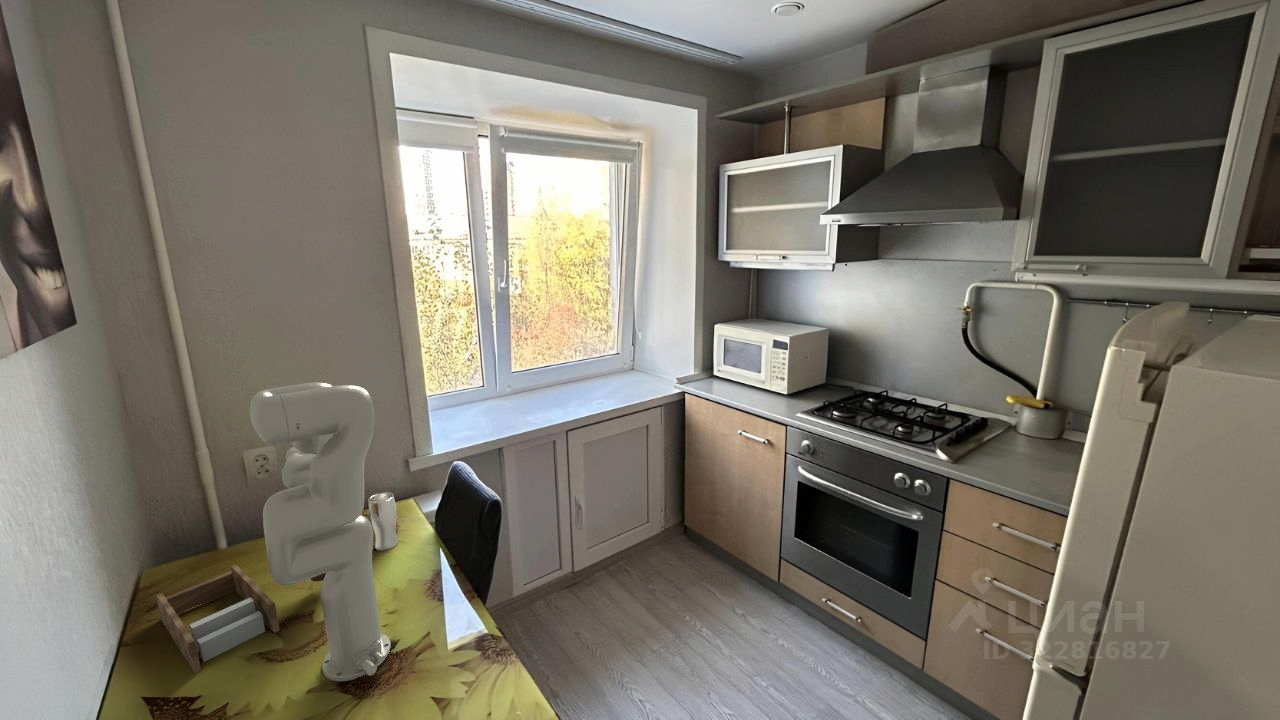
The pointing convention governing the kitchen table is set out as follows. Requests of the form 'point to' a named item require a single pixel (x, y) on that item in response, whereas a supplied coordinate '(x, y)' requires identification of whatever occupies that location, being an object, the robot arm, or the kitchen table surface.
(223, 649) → the offcut front
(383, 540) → the beer glass
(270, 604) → the rack
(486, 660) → the kitchen table surface
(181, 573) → the kitchen table surface
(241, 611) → the offcut near
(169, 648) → the kitchen table surface
